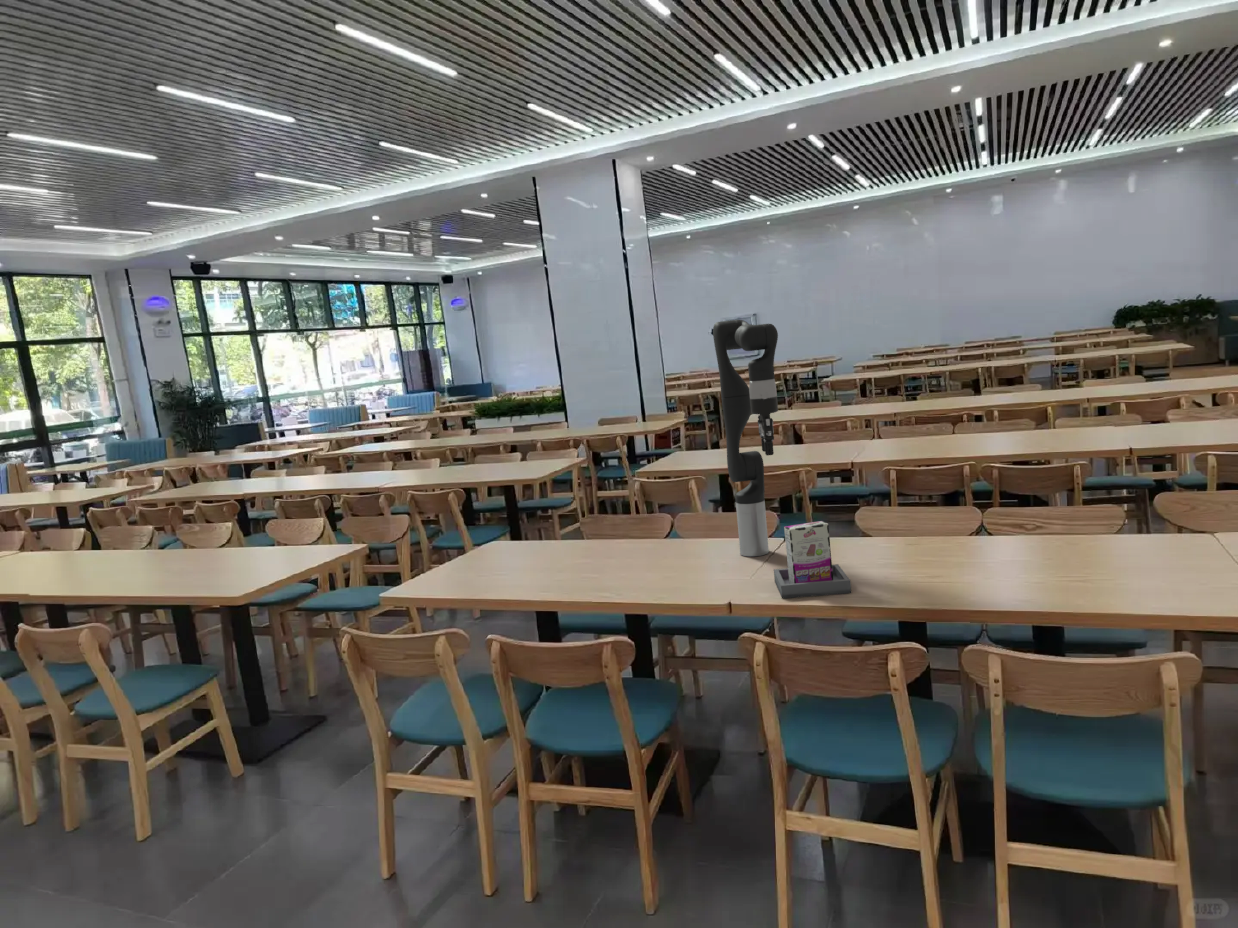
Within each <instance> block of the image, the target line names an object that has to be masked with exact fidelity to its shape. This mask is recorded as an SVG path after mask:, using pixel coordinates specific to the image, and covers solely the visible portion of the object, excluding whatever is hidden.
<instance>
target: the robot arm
mask: <svg viewBox="0 0 1238 928" xmlns="http://www.w3.org/2000/svg"><path fill="white" fill-rule="evenodd" d="M778 332H779V331H778V330H777V328H776V326H775V325H773V323H763V324H752V323H751V324H750V323H748V322H747V321H745V320H744V319H733V320H732V319H731V320H724V321H723V320H722V321H717V322H714V325H713V327H712V336H713V343H714V351H715V357H716V360H717V368H718V372H719V373H718V374H719V375H718V376H719V382H720V396H721V397H720V398H721V406H722V413H723V421H724V429H725V438H726V439H725V440H726V443H725V444H726V464H727V471H728V477H729V478H730V480H731V482H733V483H740V482H741V483H742V482H748V481H750V482H749V484H748V485H746V487H744V488H742V489H741V490H740V491H737V492H736V493H735V497H734V498H735V508H736V521H737V528H738V529H737V530H738V531H737V533H738V542H739V544H738V545H739V546H738V547H739V554H740V555H741V556H744V557H760V556H765V555H767V554H769V553H770V552H769V551H770V550H769V538H768V525H767V511H766V503H765V469H764V459H763V456H762V454H761V452H759V450H752V451H750V450H749V451H745V452H740V443H741V442H740V441H741V438H742V434H743V432H744V430H745V428H746V426H747V423H748V422H749V419H750V417H751V415H758V416H757V427H758V434H759V438H760V439H761V441H760V442H761V450H762V452H764V454H765V456H773V455H774V453H775V452H774V440H775V436H774V432H775V431H774V419H773V418H772V417H771V414H775V413H777V412H779V406H778V405H779V404H778V394H777V392H778V391H777V384H776V379H775V367H774V366H775V365H774V363H775V355H776V349H777V345H778V339H779V333H778ZM741 349H743V351H744V352H753V351H754V352H755V351H763V350H764V352H763V355H761V356H760V357H758V358H755V359H751V360H750V361H749V362H748V364H747V365H748V366H747V369H748V380H749V385H748V384H747V383H746V381H745V379H743V377H742V376H741V375H740V374H739V373H738V371H737V370H736V369H735V367H734V365H733V364H732V362H731V361H730V358H729V355H728V351H733V350H741Z"/></svg>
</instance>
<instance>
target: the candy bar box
mask: <svg viewBox="0 0 1238 928" xmlns="http://www.w3.org/2000/svg"><path fill="white" fill-rule="evenodd" d="M783 531H784V539H785V550H786V560H787V568H788V574H789V583H790V584H793V583H806V582H818V581H831V580H833V572H832V565H833V563H832V561H833V560H832V554H831V553H832V551H831V540H830V539H831V538H830V527H829V523H827V522H825V521H823V520H820V521H813V522H807V523H800V524H793V525H788V526H787V525H786V526H783Z"/></svg>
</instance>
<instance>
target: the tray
mask: <svg viewBox="0 0 1238 928" xmlns="http://www.w3.org/2000/svg"><path fill="white" fill-rule="evenodd" d="M832 572H833V580H831V581H818V582H806V583H793V584H790V583H789V574H788V567H786V568H777V569H775V568H773V580H774V583H775V586H776V588H777V590H778V593H779V595H780V597H781V599H782V598H784V599H794V598H795V599H796V598H806V597H807V598H809V597H819V596H822V597H823V596H830V595H831V596H833V595H845V594H848V595H849V594H852V584H851V579H850V578H849V576H848V575H847V574H846V572H845V571H844V570H843V568H841V566H840V564H839V563H836V564H832Z"/></svg>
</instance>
